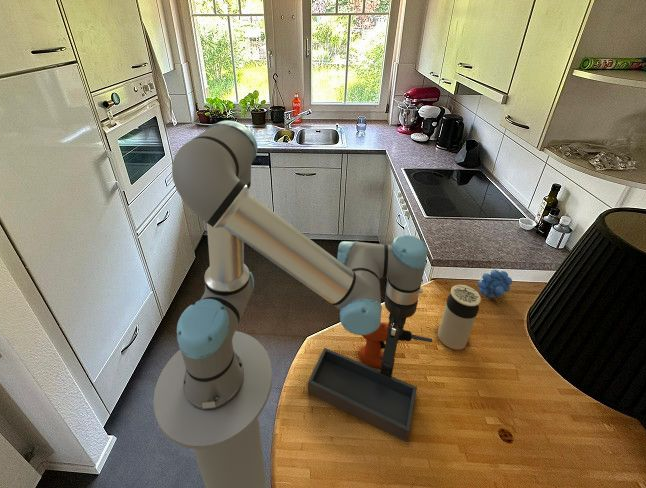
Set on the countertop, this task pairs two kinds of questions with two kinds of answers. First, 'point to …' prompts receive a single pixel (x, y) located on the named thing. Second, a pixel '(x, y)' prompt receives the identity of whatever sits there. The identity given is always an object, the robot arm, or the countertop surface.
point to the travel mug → (459, 316)
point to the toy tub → (364, 392)
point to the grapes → (494, 283)
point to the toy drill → (382, 344)
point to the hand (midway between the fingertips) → (392, 352)
